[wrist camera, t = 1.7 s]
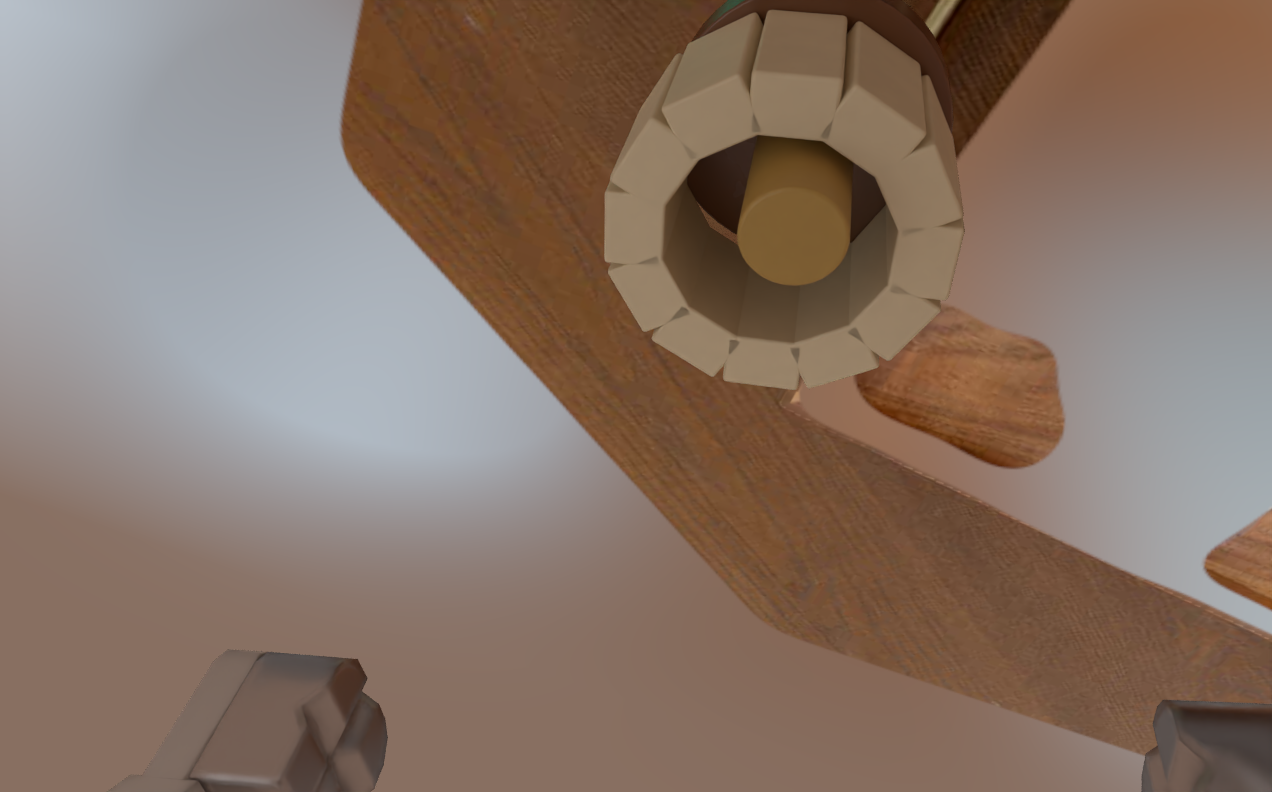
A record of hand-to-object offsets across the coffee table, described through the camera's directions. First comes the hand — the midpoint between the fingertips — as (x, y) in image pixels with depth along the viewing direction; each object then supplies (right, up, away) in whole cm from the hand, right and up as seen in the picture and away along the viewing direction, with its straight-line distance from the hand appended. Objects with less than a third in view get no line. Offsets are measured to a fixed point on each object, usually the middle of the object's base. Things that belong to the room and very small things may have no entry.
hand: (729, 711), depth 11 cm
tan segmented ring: (+2, +8, +12) cm, 15 cm away
